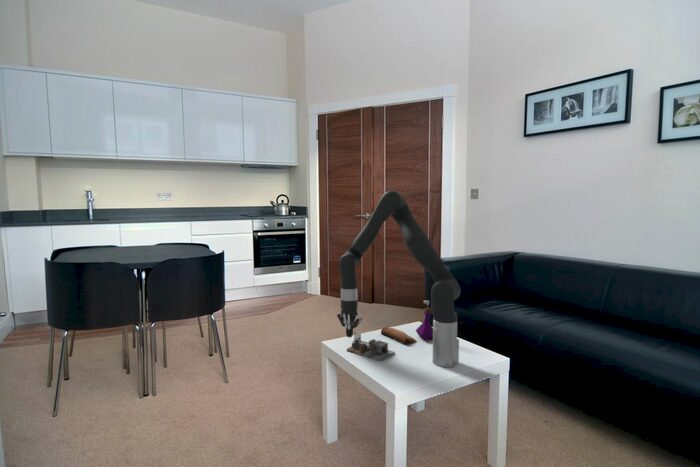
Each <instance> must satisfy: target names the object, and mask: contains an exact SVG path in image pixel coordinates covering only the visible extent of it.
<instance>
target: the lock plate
mask: <svg viewBox="0 0 700 467" xmlns="http://www.w3.org/2000/svg"><path fill="white" fill-rule="evenodd" d="M361 342H364V343H367V344H370V349H368V350H366V344H364V343H363V344H361V345H359V344H356V343H351V346H350V347H347V348H346V352H349V353H353V354H355V355H358V356H363V357H365V358H368V359H372V360H375V361H378V362H383V361H385V360H387V359H389V358H391V357H392V356H395V354H396V353H395V351H393V350H390V349H389V343H388V342H386V341H383V340H376V339H374V338H372V339H369V340H368V342H366V341H363V340H361Z"/></svg>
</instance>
